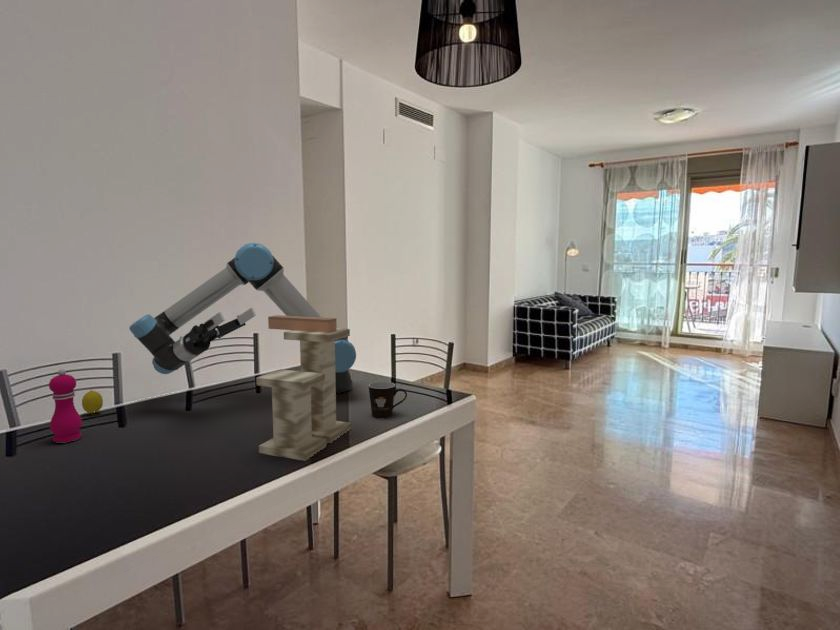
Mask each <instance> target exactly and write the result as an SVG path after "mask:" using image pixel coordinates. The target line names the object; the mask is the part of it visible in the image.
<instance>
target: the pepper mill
mask: <svg viewBox="0 0 840 630" xmlns="http://www.w3.org/2000/svg"><path fill="white" fill-rule="evenodd" d="M66 373H67V371H66V369H62V368H61V369H58V371H57V375H56V376H53V377H52V378H51V379H50V381H49V382H48V387H49V390H50V391H51V392H52V394H51V396H52V400H54V412H53V415H52V417H51V419H50V423H49V430H50V431H51V432H52V433H53V434H54V435H53V436H52V441H54V442H68V441H72V440H75V439H78V438H80V437H81V438H82V432H81V431H82V430H81V431H80V429H81V427H82V425H83V420H82V419H83V418H82V417H81V415H80V414H79V412H78V410H77V409H76V407H75V403H74V397H75V396H76V394H75V392H76V391H75V390H74V389H75V388H76V387H77V380H76V378H75V377H74V376H72V375H71V374H66ZM81 438H80V439H81ZM54 442H53V443H54Z"/></svg>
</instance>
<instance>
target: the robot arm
mask: <svg viewBox="0 0 840 630" xmlns="http://www.w3.org/2000/svg"><path fill="white" fill-rule="evenodd" d="M284 270H285V269H284V266H283V265H282V264H281V263H280V262H279V261H278V260H277V258H276V257H275V256H274V255H273V254H272V252H271V250H270V249H269V248H268V247H267V246H265V245H263V244H260V243H258V242H249V243H246V244H244V245H242V246H240V248H239V249H238V250H237V251H236V253H235V256H234V258H232V259H231V260H229V261H228V262H226V267H224V268H223V269H222V270H220V271H218V272H217V273H216V274H214V276H211V278H209V279H208V280H206V281H205V282H203V283H202V284H201V285H199V286H198V287H196V288H195V289H193V290H192V291H190V292H189V293H188V294H186V295H185V296H184V297H182V298H181V299H180V300H178V301H176V302H175V303H173V304H172V305H171V306H169V307H168V308H166V309H165V310H164V311H162V312H161V313H159V314H158V315H156V316H155V317H153V316H152V315H151V314H148V313H147V314H145V315H143V316H142V317H141V318H139V319H138V320H136V321H135V322H133V323H132V324H131V325H129V331H130V332H131V333H132V334H133V336H134V337H135V338H136V339H137V340H138V341H139V342H140V343H141V344H142V345H143V346H144V347H145V348H146V350H147V351H149V353H151V355H152V356H153V358H152V361H151V362H152V365H153V369H154V370H155V371H157V373H159V374H162V375H169V374H171V373H173V372H175V371H177V370H179V369H180V368H181V367H183V366H184V365H187V364H188V363H189V362H190V361H193V360H194V359H195V358H197V357H199V356H200V355H201V354H203V353H205V351H207V350H208V349H209V348H210V347H211V342H214V341H215V340H216V339H221V338H223V337H225V336H226V335H228V334H231V333H232V332H234V331H236V330H238V329H240V328H242V327H245V326H247V325H246V323H247V322H248V321H250V320H251V319H253V318H255V316H257V313H256V312H255V310H254V308H253V307H250V308H248V309H247V310H246V311H244V312H242V313H241V314H240V315H239V314H238V315H237V316H236V318H235V319H233V320H231V321H228V322H226V323H223V322H225V321H226V319H225V317H224V315H223V313H222V312H221V311H220V312H218V313H215V315H213V316H212V317H210V318H209V319H208V320H206V321H204V323H203V322H202V323H200V324H199V325H197V324H196V325H195V324H194V326H192V328H191V329H190V331H189V332H187V333H186V334H184V335H183V336H179V339H178V340H176V341H175V340H174V339H173V338H172V336H171V335H172V334H173V333H174V332H176V331H177V330H179V329H180V328H181V327H183V326H184V325H185V324H187V323H188V322H190V321H191V320H192V319H195V317H197V316H199V315H200V314H201V313H203V312H204V311H206V310H207V309H208V308H210V307H211V306H212V305H214V304H215V303H217V302H218V301H220V299H223V298H224V297H226V295H228V294H229V293H231V292H232V291H234V290H235V289H237V288H238V287H240V286H245V285H247V284H250V285H251V286H252V287H253V288H254V289H255V290H256V291H259V292H260V291H261V292H264V294H266V296H267V297H268V298H269V299H270V300H271V301H272V303H274V304H275V306H276V307H278V309H279V310H280V311H281V312H282V313H283V314H284V316H302V317H322V316H321V315H320V313H318V312H317V310H316V309H315V308H314V307H313V306H312V305H311V304H310V303H309V301H308V300H307V299H306V298H305V297H304V296H303V294H302V293H301V292H300V291H299V290H298V289H297V288H296V287H295V285H293V283H292V282H291V281H290V280H289V279H288V278H287V277H286V276H285V274H284ZM222 323H223V324H222ZM220 324H221V325H220ZM348 338H349V336H348V337H344V338H341V339H338V340H335V379H336V393H338V394H342V393H341V392H344V393H346V392H345V391H348V390H350V389H352V388H353V387H354V384H353V380H352V377H351V374H350V371H349V370H350V369H351V368H352V367H353V366H354V364H355V362H356V360H357V352H356V348H355V345H354V344H353V343H351V341H349V340H348ZM353 389H354V388H353ZM353 389H352V390H353ZM350 391H351V390H350ZM348 392H349V391H348Z"/></svg>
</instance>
